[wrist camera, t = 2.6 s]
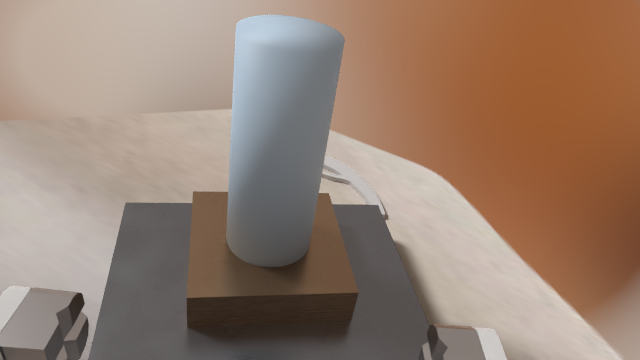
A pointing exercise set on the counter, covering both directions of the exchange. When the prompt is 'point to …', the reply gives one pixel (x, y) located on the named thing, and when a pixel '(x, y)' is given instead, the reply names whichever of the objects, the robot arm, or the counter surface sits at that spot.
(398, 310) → the rack
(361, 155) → the counter surface
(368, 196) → the pliers
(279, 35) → the peg
